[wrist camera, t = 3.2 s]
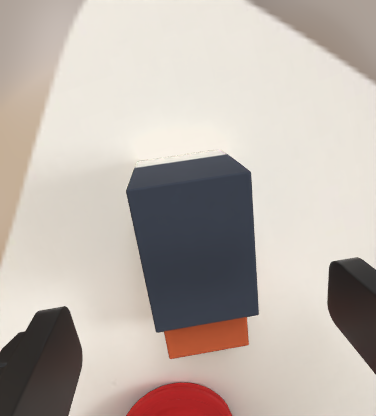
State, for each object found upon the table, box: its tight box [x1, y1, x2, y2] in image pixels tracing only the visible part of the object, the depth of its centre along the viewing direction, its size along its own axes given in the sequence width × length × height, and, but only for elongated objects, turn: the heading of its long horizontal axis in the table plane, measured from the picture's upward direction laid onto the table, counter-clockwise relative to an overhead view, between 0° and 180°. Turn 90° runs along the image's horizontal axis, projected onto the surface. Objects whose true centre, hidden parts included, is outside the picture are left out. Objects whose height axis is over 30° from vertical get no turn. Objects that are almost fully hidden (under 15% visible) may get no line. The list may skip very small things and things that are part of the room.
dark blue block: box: [126, 149, 259, 359], centre depth 14 cm, size 10×4×5 cm, turn 7°
